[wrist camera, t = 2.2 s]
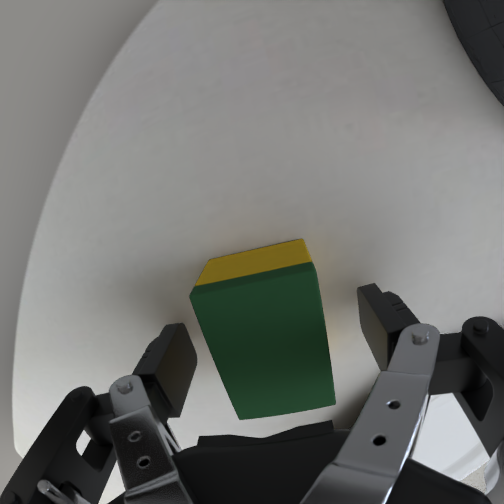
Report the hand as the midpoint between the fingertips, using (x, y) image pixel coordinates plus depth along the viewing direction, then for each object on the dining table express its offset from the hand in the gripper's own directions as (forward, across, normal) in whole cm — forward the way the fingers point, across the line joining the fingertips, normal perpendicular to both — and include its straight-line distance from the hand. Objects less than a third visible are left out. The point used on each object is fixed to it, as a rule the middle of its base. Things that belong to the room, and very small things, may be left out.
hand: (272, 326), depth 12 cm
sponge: (+1, 0, 0) cm, 1 cm away
